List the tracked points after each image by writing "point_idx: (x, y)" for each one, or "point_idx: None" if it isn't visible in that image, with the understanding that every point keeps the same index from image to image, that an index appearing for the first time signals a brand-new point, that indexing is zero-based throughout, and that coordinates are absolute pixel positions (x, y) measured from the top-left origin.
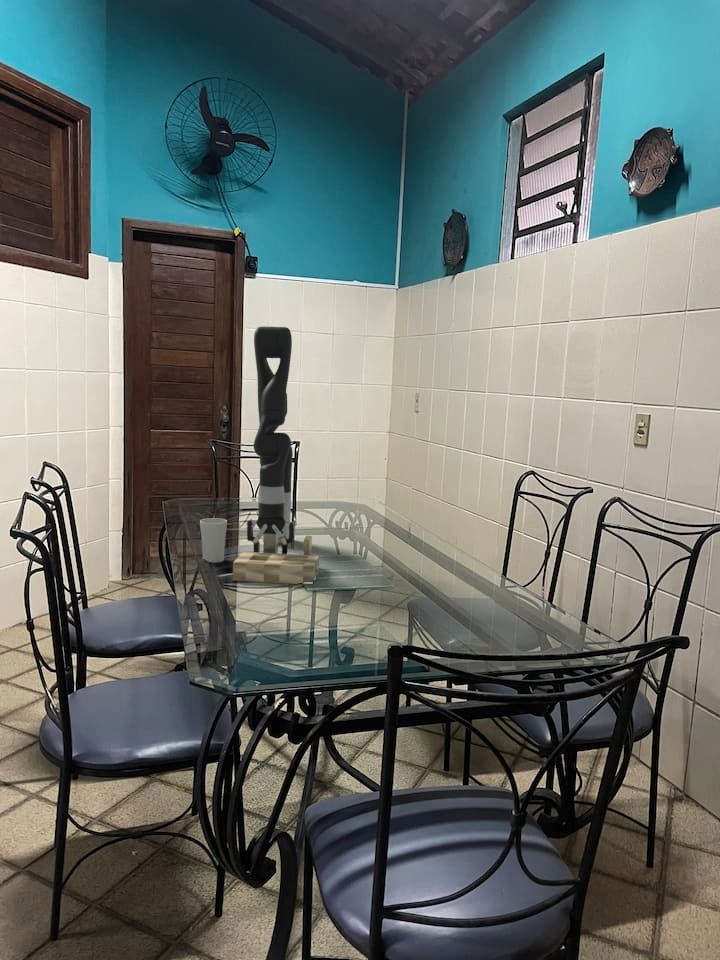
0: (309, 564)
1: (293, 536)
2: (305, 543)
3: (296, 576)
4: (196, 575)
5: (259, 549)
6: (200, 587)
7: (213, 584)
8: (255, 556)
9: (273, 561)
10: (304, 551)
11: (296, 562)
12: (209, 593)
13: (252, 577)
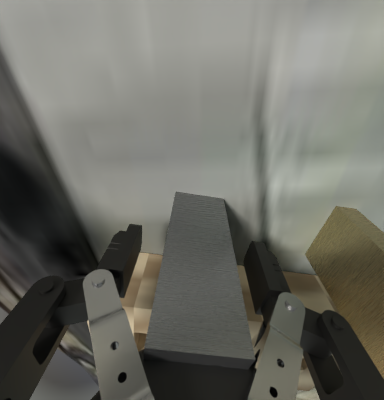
0: (305, 383)
1: (354, 353)
2: (376, 362)
3: None
4: (15, 293)
5: (136, 239)
6: (70, 342)
7: (86, 332)
8: (144, 329)
9: None
10: (345, 318)
11: None
12: None
13: None
